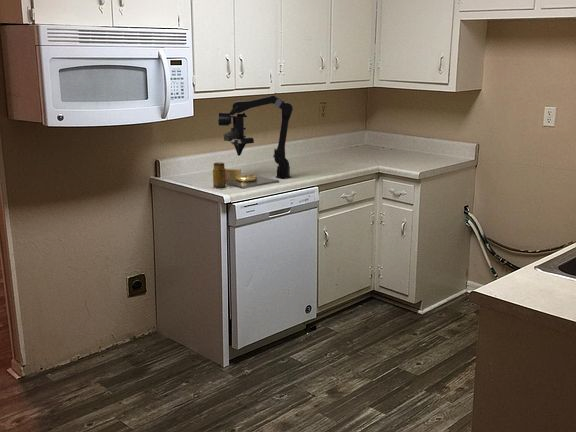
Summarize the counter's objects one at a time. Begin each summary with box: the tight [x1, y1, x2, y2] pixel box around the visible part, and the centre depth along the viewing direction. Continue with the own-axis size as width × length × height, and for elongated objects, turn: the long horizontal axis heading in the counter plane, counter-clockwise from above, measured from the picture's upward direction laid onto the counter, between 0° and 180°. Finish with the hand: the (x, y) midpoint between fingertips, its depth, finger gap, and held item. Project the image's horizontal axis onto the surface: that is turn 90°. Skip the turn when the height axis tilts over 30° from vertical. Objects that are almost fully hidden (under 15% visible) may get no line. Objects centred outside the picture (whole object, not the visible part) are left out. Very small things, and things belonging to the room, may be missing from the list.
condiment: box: [209, 162, 231, 190], centre depth 313 cm, size 7×8×12 cm
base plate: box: [225, 173, 280, 189], centre depth 327 cm, size 24×24×1 cm
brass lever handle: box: [225, 168, 258, 181], centre depth 326 cm, size 12×16×5 cm
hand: (239, 155), depth 335 cm, fingers closed
